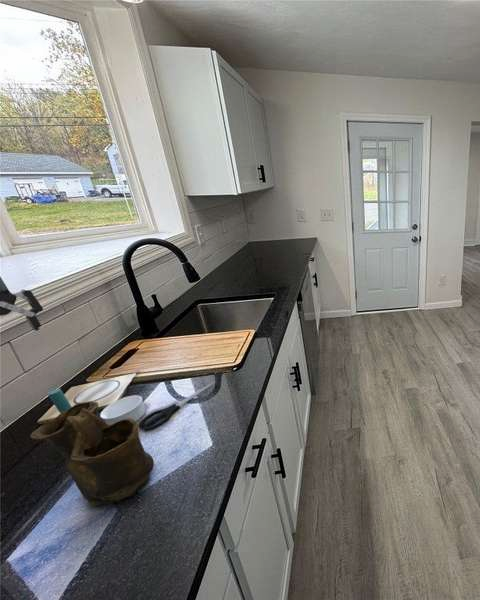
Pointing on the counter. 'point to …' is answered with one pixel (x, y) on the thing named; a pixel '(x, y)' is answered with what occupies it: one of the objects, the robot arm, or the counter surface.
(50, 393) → the marker
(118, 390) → the board
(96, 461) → the pottery vessel
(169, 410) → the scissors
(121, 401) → the ramekin
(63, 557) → the counter surface
